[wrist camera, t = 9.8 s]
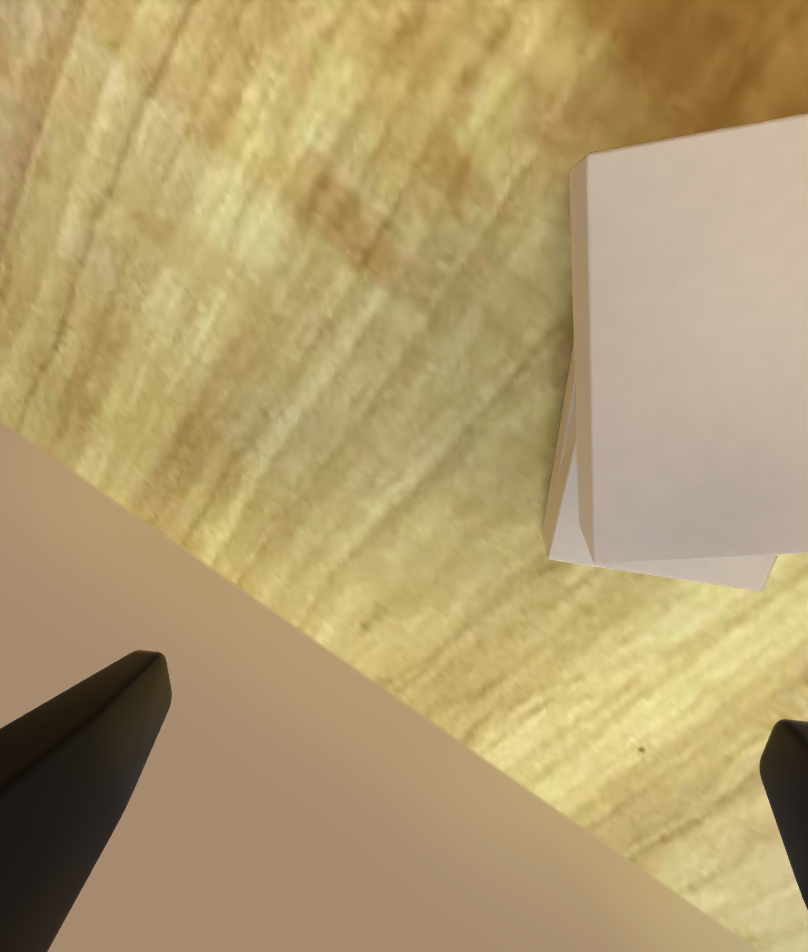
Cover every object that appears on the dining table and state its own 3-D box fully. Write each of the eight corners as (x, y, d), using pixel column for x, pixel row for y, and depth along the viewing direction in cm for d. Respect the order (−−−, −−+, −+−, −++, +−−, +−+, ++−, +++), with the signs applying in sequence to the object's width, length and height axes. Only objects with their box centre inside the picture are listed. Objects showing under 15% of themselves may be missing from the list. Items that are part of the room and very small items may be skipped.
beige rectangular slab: (538, 534, 20) (545, 569, 18) (589, 221, 16) (607, 216, 14) (746, 555, 19) (780, 594, 17) (856, 232, 15) (920, 229, 13)
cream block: (578, 525, 17) (593, 566, 15) (568, 168, 13) (586, 152, 11) (807, 510, 16) (859, 551, 14) (863, 116, 12) (947, 86, 10)
